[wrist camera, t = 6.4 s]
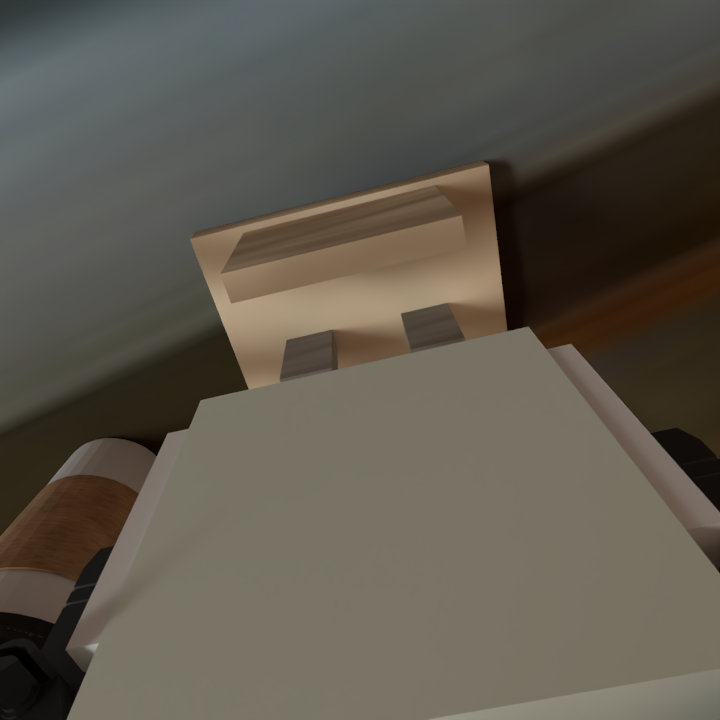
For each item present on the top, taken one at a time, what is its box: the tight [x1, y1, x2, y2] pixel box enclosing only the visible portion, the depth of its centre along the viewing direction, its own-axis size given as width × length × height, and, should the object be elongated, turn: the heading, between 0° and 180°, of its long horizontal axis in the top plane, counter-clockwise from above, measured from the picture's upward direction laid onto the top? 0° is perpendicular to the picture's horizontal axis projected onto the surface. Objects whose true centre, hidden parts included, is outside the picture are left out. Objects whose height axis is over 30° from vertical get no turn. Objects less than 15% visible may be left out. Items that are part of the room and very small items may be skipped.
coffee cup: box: [0, 438, 157, 651], centre depth 26 cm, size 8×8×15 cm
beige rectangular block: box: [67, 327, 720, 720], centre depth 12 cm, size 3×10×10 cm, turn 103°
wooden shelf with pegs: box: [190, 161, 507, 389], centre depth 26 cm, size 16×14×7 cm
